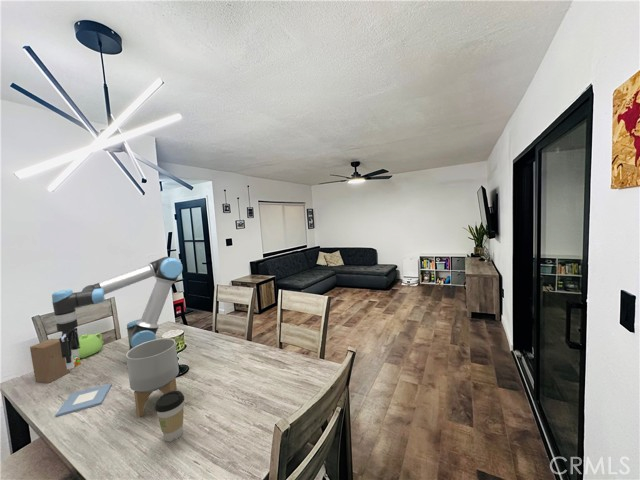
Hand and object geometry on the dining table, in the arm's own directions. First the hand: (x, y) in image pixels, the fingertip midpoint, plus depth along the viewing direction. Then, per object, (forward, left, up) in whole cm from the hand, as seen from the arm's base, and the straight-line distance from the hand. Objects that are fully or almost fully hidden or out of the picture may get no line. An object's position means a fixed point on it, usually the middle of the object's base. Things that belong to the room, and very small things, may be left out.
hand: (73, 365), depth 133 cm
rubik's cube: (0, 0, -1) cm, 1 cm away
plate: (-8, +14, -13) cm, 20 cm away
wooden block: (+17, -21, -13) cm, 30 cm away
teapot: (+10, -44, -13) cm, 47 cm away
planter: (-40, +34, -13) cm, 54 cm away
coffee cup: (-48, +59, -13) cm, 77 cm away
